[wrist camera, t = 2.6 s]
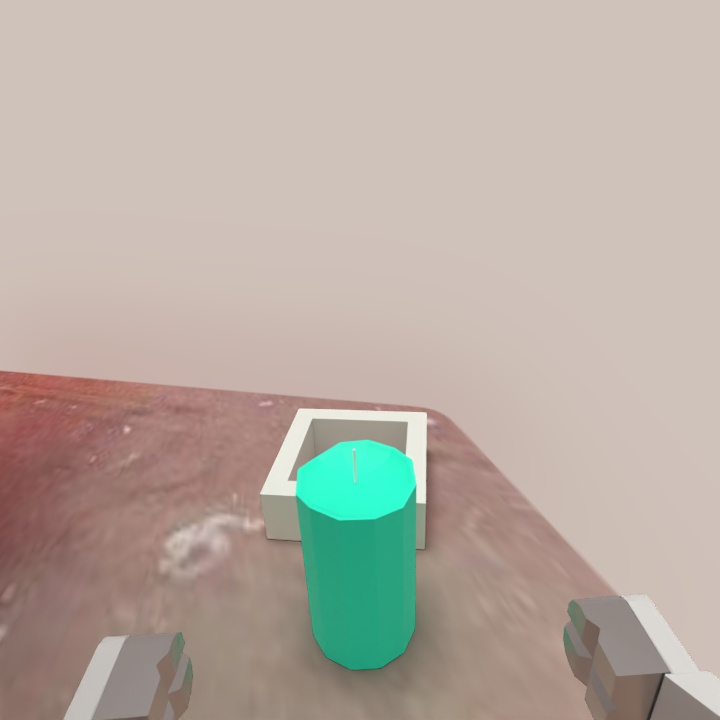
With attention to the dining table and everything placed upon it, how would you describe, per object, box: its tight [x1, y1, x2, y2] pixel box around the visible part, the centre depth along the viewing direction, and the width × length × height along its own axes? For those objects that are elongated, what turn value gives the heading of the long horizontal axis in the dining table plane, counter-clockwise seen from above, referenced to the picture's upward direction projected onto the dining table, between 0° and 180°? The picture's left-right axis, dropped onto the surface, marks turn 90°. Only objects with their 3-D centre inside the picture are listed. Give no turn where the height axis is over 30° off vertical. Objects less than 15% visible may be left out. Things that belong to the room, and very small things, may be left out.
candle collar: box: [260, 409, 427, 550], centre depth 37 cm, size 11×11×4 cm
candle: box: [296, 440, 417, 670], centre depth 26 cm, size 6×6×12 cm
